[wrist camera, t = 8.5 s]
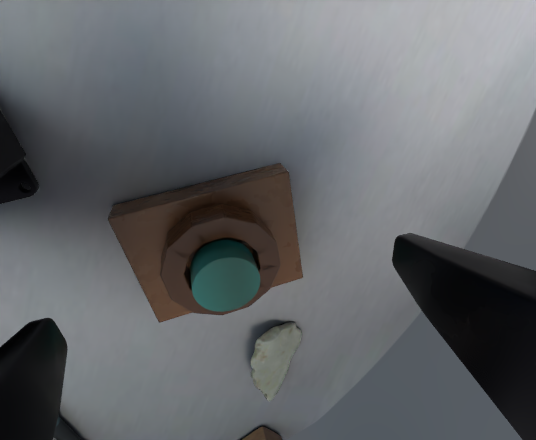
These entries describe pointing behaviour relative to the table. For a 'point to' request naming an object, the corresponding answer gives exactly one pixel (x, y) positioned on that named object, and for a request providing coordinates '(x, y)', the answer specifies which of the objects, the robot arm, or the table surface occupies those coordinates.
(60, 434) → the pen
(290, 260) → the button block
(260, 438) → the wooden block
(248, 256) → the button
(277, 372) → the stone tool
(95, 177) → the table surface
